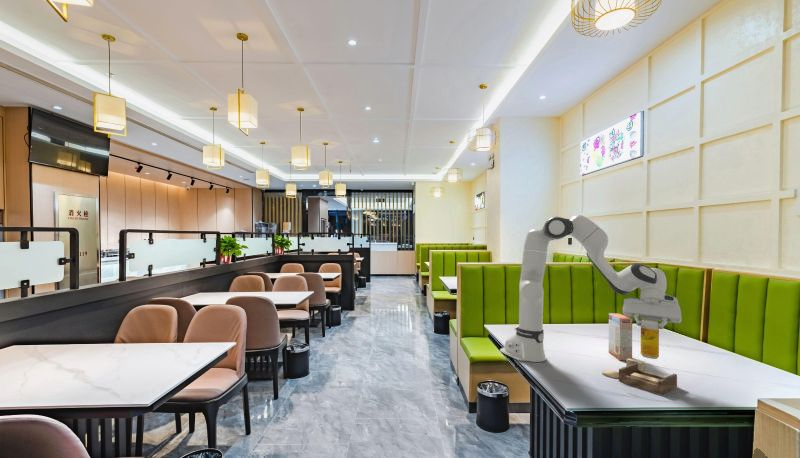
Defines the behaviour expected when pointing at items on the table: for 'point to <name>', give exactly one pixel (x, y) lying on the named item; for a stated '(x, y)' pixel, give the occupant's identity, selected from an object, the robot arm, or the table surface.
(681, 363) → the table surface
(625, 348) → the cracker box
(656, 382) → the offcut bottom
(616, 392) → the table surface
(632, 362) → the offcut top
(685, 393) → the table surface
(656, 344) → the beer glass
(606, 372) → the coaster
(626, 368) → the rack
